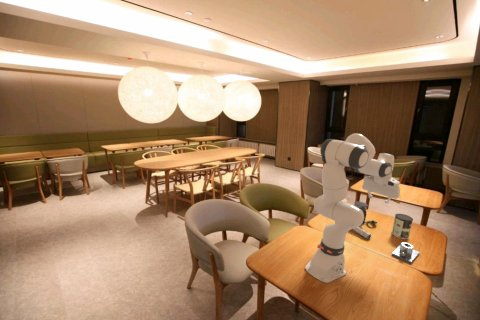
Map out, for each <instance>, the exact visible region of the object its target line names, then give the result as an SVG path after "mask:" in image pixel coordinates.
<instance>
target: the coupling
mask: <svg viewBox="0 0 480 320" xmlns="http://www.w3.org/2000/svg"><path fill="white" fill-rule="evenodd" d="M400 245H401V246H400ZM400 245H399V246H400V252H402V251H404V252H405V253H406V255H409V256H411V255H412V251H413V250H414V245H412V244H410V243H409V242H403V241H402V242H401V243H400Z"/></svg>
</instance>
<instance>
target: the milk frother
mask: <svg viewBox="0 0 480 320" xmlns="http://www.w3.org/2000/svg"><path fill="white" fill-rule="evenodd" d="M353 205H354V206H356V207H357V208H359V209H361V210H362V211H363V214H364V221H363V223H362V224H361V225H364V224H370V225H374V224H378V221H375V220H374V219H373V220H368V221H366V218H367V207H368V204H367V203H366V202H363V201H354V204H353Z"/></svg>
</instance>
